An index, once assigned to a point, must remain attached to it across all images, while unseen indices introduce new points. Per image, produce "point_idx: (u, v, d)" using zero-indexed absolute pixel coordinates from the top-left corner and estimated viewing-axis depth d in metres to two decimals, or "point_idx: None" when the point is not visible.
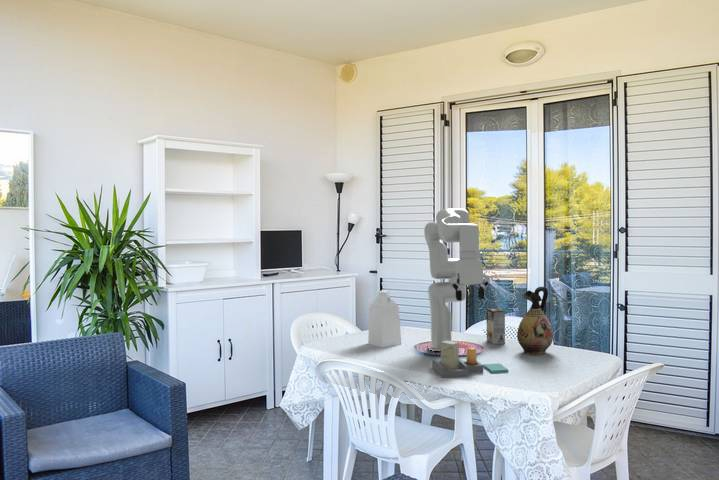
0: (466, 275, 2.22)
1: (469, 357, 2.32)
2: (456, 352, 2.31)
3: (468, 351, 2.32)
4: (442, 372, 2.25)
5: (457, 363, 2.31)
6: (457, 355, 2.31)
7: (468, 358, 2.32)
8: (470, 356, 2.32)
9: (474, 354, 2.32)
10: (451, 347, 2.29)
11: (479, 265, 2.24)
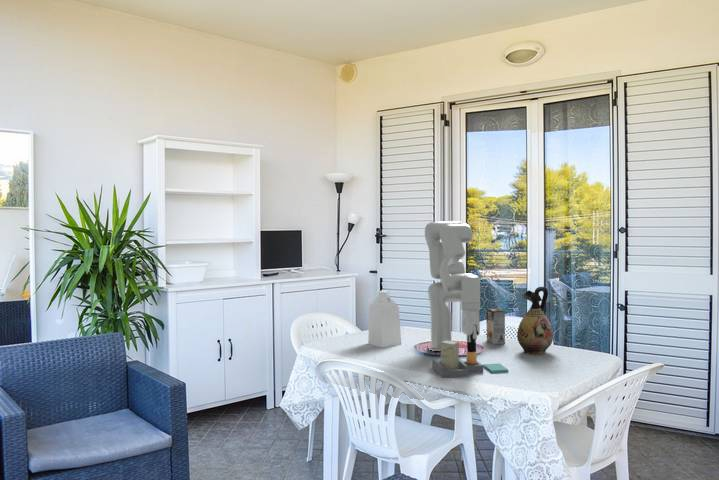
0: None
1: (469, 360, 2.32)
2: (456, 352, 2.31)
3: (468, 354, 2.32)
4: (442, 372, 2.25)
5: (457, 363, 2.31)
6: (457, 355, 2.31)
7: (468, 361, 2.32)
8: (470, 359, 2.32)
9: (474, 357, 2.32)
10: (451, 347, 2.29)
11: None
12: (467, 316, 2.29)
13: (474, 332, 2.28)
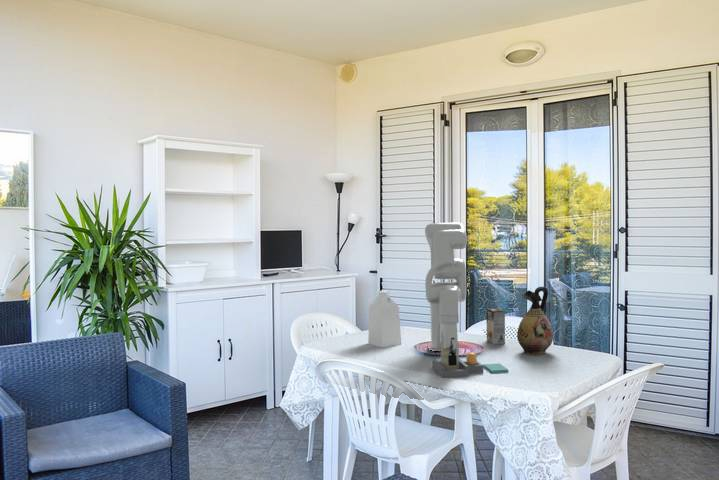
0: None
1: (469, 362, 2.32)
2: (456, 352, 2.30)
3: (468, 356, 2.32)
4: (442, 372, 2.25)
5: (457, 363, 2.31)
6: (457, 355, 2.31)
7: (468, 363, 2.32)
8: (470, 361, 2.32)
9: (474, 359, 2.32)
10: None
11: None
12: (445, 329, 2.28)
13: (453, 342, 2.26)
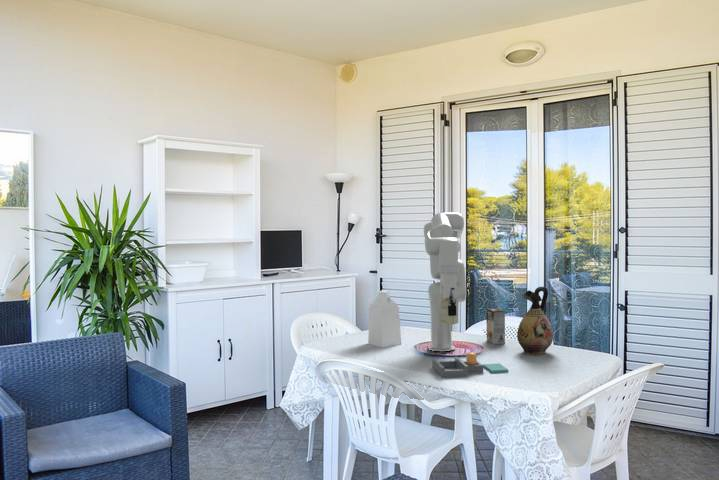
0: None
1: (469, 362, 2.32)
2: (456, 302, 2.30)
3: (468, 356, 2.32)
4: (442, 372, 2.25)
5: (457, 314, 2.30)
6: (457, 306, 2.30)
7: (468, 363, 2.32)
8: (470, 361, 2.32)
9: (474, 359, 2.32)
10: (451, 297, 2.28)
11: None
12: (445, 279, 2.28)
13: (452, 292, 2.25)
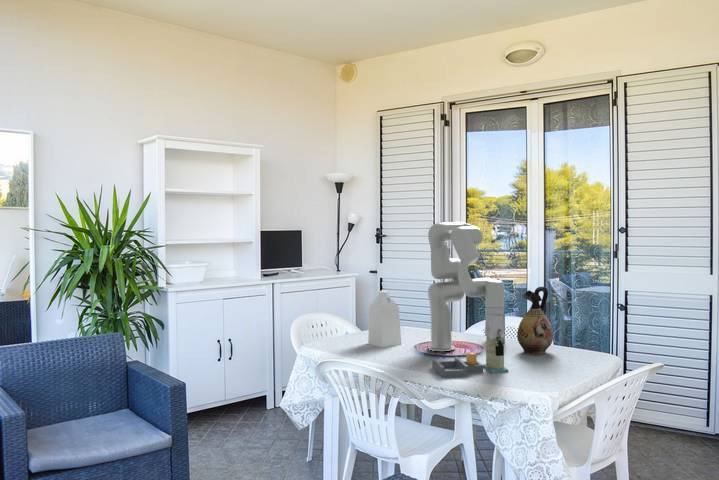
0: None
1: (469, 362, 2.32)
2: None
3: (468, 356, 2.32)
4: (442, 372, 2.25)
5: (503, 358, 2.33)
6: None
7: (468, 363, 2.32)
8: (470, 361, 2.32)
9: (474, 359, 2.32)
10: None
11: None
12: (491, 321, 2.30)
13: (500, 333, 2.28)
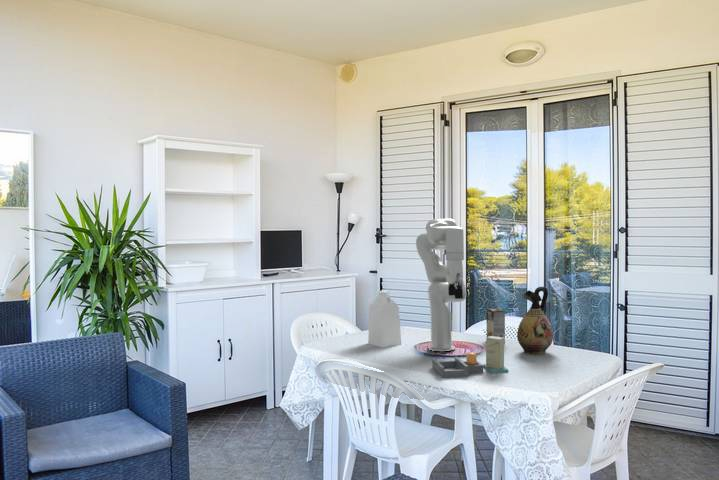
0: None
1: (469, 362, 2.32)
2: (502, 347, 2.33)
3: (468, 356, 2.32)
4: (442, 372, 2.25)
5: (503, 358, 2.33)
6: (503, 350, 2.33)
7: (468, 363, 2.32)
8: (470, 361, 2.32)
9: (474, 359, 2.32)
10: (498, 342, 2.31)
11: None
12: (451, 265, 2.41)
13: (459, 276, 2.38)
